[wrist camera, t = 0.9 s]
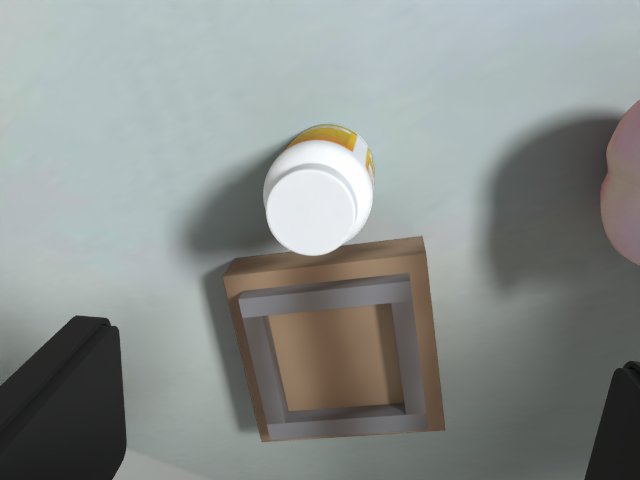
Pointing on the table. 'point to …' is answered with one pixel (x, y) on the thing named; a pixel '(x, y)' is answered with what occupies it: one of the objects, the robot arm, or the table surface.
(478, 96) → the table surface
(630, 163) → the decorative fruit
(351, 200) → the supplement bottle
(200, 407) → the table surface
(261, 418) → the stand
